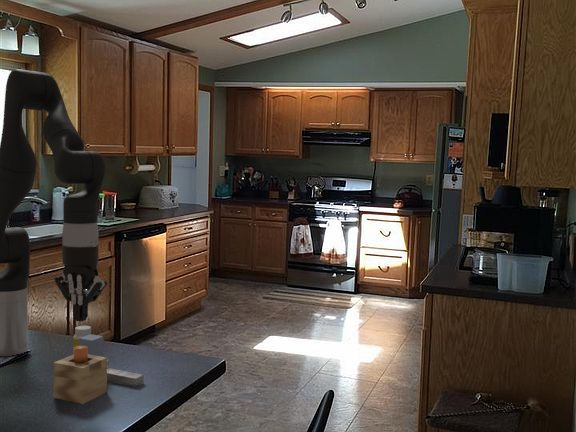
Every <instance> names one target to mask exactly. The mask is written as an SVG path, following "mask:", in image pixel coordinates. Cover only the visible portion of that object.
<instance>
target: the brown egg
mask: <svg viewBox="0 0 576 432" xmlns="http://www.w3.org/2000/svg"><path fill="white" fill-rule="evenodd" d="M87 361H88V347H87V346H76V347H74V362H75V363H84V362H87Z"/></svg>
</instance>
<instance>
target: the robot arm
mask: <svg viewBox="0 0 576 432" xmlns="http://www.w3.org/2000/svg"><path fill="white" fill-rule="evenodd" d="M3 107H4V109H3V121H2V122H3V123H2V131H1V138H0V265H2V264H3V265H4V264H8V265H7V266H6V268H5V269H3V270H2V271H1V272H0V357H12V355H14V356H17V355H16V354H19V355H22V354H24V352H25V353H26V352H28V350H29V321H28V320H29V318H28V317H29V316H28V315H29V314H28V313H29V312H28V306H29V304H28V301H29V300H28V297H29V296H28V282H29V276H30V262H31V261H30V260H31V259H30V258H31V241H30V236H29V233H28V232H27V230H26V229H25V228H24V227H21V226H20V227H19V226H18V227H17V226H16V227H15V226H14V227H7V226H8V225H7V224H8V223H9V219H10V218H11V216H12V214H13V212H14V211H15V210H16V209H17V208H18V207H19V206H20V205H21V203H23V201H24V200H25V199H26V197H27V196H28V195H29V194H30V192H31V190H32V189H33V186H34V183H35V179H36V171H37V167H38V161H37V156H36V153H35V151H34V149H33V147H32V145H31V143H30V141H29V140H28V137H27V135H26V133H25V129H24V127H23V110H31V111H45V112H46V113H47V116H46V117H45V120H44V121H43V124H42V134H43V135H42V136H43V138H44V141H45V142H46V144H47V146H48V147H49V149H50V151H51V153H52V158H53V164H54V166H53V167H54V169H53V170H54V174H55V177H56V178H57V179H58V180H59V181H60V182H62V183H64V184H69V185H71V184H72V185H73V184H75V185H76V184H77V185H78V184H84V185H83V187H82V190H80V191H79V192H78V193H73V194H69V195H67V196H66V197H64V198H63V203H62V204H63V218H62V219H63V225H62V226H63V227H62V232H61V233H62V234H61V235H62V236H61V237H62V239H61V242H62V243H61V244H62V246H61V248H62V251H61V252H62V255H61V256H62V265H64V267H63V269H62V274H61V275H59V276H55V277H54V282H55V284H56V286H57V288H58V289H59V290H60V292H61V294H62V296H63V297H64V299H65V300H66V301H69V302H71V304H72V315H73V318H74V321H75V322H84V321H86V320H87V319H88V317H89V303H93V302H95V301H97V299H98V298H99V296H100V295H101V294H102V292H103V291H104V289H106V287H107V286H108V282H107V280H105V279H104V280H103V279H101V278H100V276H99V270H98V269H97V266H98V263H99V227H98V204H99V203H98V202H99V199H100V194H101V191H102V186H103V183H104V179H105V177H106V173H107V172H106V171H107V164H106V161H105V159H104V157H103V155H102V154H101V153H100V152H97V151H91V150H86V151H85V150H84V149H85V143H84V140H83V138H82V136H81V134H79V132H78V130H77V128H76V127H75V126H74V124H73V122H72V120H71V119H70V116H69V113H68V110H67V106H66V104H65V101H64V98H63V95H62V92H61V89H60V87H59V85H58V82H57V81H56V79H55V77H54V76H53V75H51V74H49V73H47V72H42V71H34V70H26V69H20V68H18V69H13V70H11V71H10V73H9V74H8V76H7V80H6V84H5V93H4V105H3ZM21 353H22V354H21Z"/></svg>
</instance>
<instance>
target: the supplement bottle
mask: <svg viewBox="0 0 576 432" xmlns="http://www.w3.org/2000/svg"><path fill="white" fill-rule="evenodd" d="M91 333H92V326H90V325H79V326H76V327H75V328H74V335H73V339H72V340H73V342H72V343H73V344H72V345H73V348H72V351H73V354H72V355H74V347H76V346H79V338H81V337H84V336H86V335H89V334H91Z"/></svg>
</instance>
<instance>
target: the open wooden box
mask: <svg viewBox="0 0 576 432" xmlns="http://www.w3.org/2000/svg"><path fill="white" fill-rule="evenodd" d="M107 360H108V357H106V356H105V357H104V356H103V357H101V356H95V355H90V354H88V361H87V362H84V363H75V362H74V355H73V354H71V355H68V356H66V357H64V358H62V359H59V360H57V361H54V362H53V398H54V399H58V400H63V401H67V402H71V403H76V404H81V405H85V404H87V403H89V402H90V401H92V400H94V399H97V398H98V397H100V396H102V395H104V394H106V393H107V392H108V381H107Z"/></svg>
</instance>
